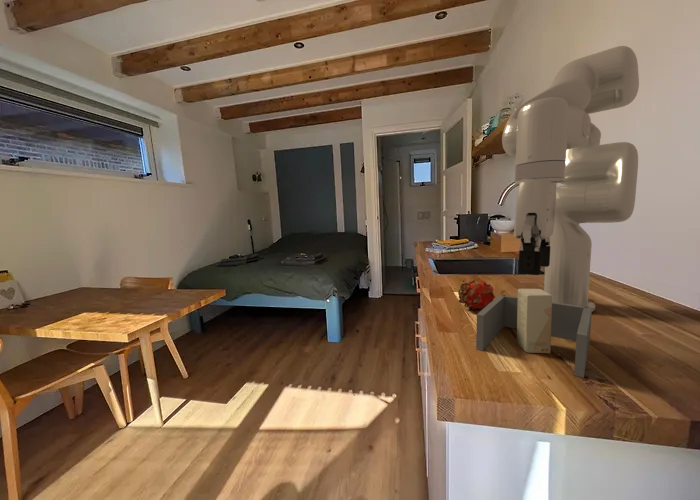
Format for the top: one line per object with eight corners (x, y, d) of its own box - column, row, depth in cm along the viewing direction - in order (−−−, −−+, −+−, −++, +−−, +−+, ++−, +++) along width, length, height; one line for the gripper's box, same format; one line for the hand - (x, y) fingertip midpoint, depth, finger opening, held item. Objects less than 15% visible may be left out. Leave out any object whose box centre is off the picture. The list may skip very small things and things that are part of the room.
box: (551, 354, 54) (554, 295, 52) (525, 353, 55) (527, 295, 53) (539, 341, 59) (541, 288, 58) (515, 340, 60) (517, 287, 58)
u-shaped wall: (499, 323, 69) (500, 294, 68) (589, 341, 58) (591, 307, 57) (476, 349, 57) (476, 314, 56) (583, 377, 46) (586, 335, 45)
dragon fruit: (457, 318, 77) (485, 315, 84) (483, 306, 71) (511, 303, 77) (445, 288, 81) (473, 287, 87) (468, 274, 75) (496, 274, 81)
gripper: (525, 180, 61) (522, 261, 63) (502, 173, 49) (499, 275, 51) (570, 176, 56) (565, 265, 58) (558, 167, 44) (552, 280, 46)
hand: (534, 269), depth 54 cm, fingers open, 9 cm apart
